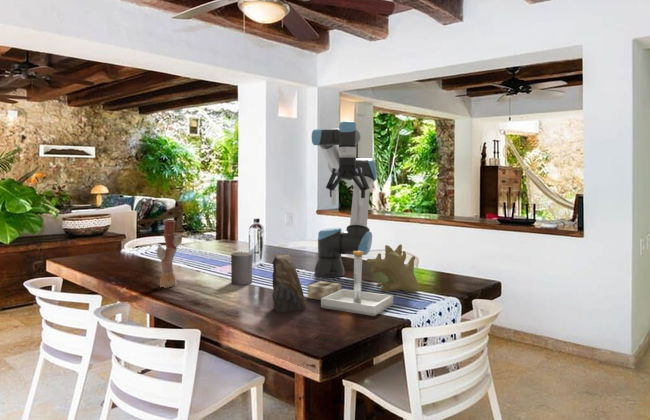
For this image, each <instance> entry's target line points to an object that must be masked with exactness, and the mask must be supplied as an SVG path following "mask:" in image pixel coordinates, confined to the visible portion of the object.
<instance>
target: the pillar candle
mask: <svg viewBox="0 0 650 420" xmlns="http://www.w3.org/2000/svg"><path fill="white" fill-rule="evenodd" d="M230 256H231V257H230V261H231V262H230V263H231V264H230V266H231V267H230V268H231V269H230V270H231V271H230V273H231V274H230V276H231V278H230V280H231V282H230V283H231V284H232V285H235V286H245V285H251V284H252V283H253V252H248V251H242V250H241V251H237V252H236V251H235V252H232V253H231V254H230Z"/></svg>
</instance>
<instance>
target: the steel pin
mask: <svg viewBox="0 0 650 420" xmlns="http://www.w3.org/2000/svg"><path fill="white" fill-rule="evenodd" d="M353 254H354V255H353V256H354V257H353V261H354V262H353V290H354V300H353V302H354V303H360V304H361V291H362V289H363V287H362V286H363V285H362V280H363V279H362V278H363V255H362V254H364V252H363V251H353Z"/></svg>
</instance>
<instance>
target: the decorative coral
mask: <svg viewBox="0 0 650 420" xmlns="http://www.w3.org/2000/svg"><path fill="white" fill-rule="evenodd" d="M402 249H403V245H402V244H401V243H400V244H399V245H398V246H397V247H396V248H395V250H393V248H392V247H391V246H390V245H387V244H385V246H384V251H385V253H384V257H383V258H382V254H381V253H377V256H376V258H368V259H366V262H367V264H369V265H370V266H372V268H371V269H370V273H371V275H372V274H373V275H374V274H377V273H382V274H383V276H385V277H386V278H387V279H388V281H386V282H377V283H376V284H375V285H376V287H377V288H379V289H380V292H386V291H387V292H388V291H392V292H395V291H399V290H400V291H403V292H406V293H414V292H416V291H417V289H418V286H419V285H418V284H419V283H418V280H417V277H416V275H415V273H414V271H415V270H414V269H415V268H414V267H415V260H416V256H415V255H413V256H411V258H410V259H409V260H408V262H407V263H405V261H406V259H407V253H406V251H405V250H402Z"/></svg>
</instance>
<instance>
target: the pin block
mask: <svg viewBox="0 0 650 420" xmlns="http://www.w3.org/2000/svg"><path fill="white" fill-rule="evenodd" d="M341 289H342V283H338V282H330V281H324V280H320V281H316V282H314V283H311V284H309V285H307V298H308V299H314V300H320V301H321V298H323V297H325V296H328V295H330V294H332V293H335V292H337V291H339V290H341Z"/></svg>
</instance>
